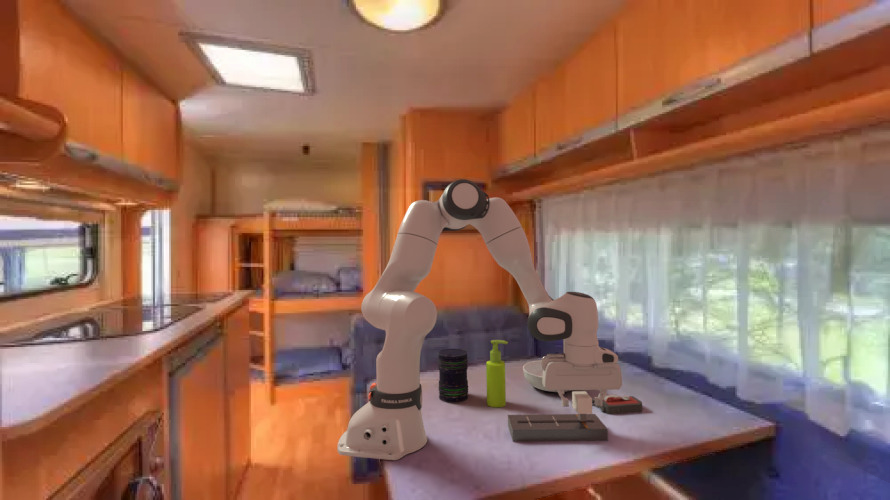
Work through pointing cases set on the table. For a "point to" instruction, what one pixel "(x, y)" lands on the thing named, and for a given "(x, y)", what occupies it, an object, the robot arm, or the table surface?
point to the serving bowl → (535, 375)
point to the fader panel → (556, 428)
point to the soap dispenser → (496, 377)
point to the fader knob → (582, 404)
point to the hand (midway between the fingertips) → (581, 405)
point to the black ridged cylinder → (453, 375)
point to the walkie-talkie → (620, 404)
